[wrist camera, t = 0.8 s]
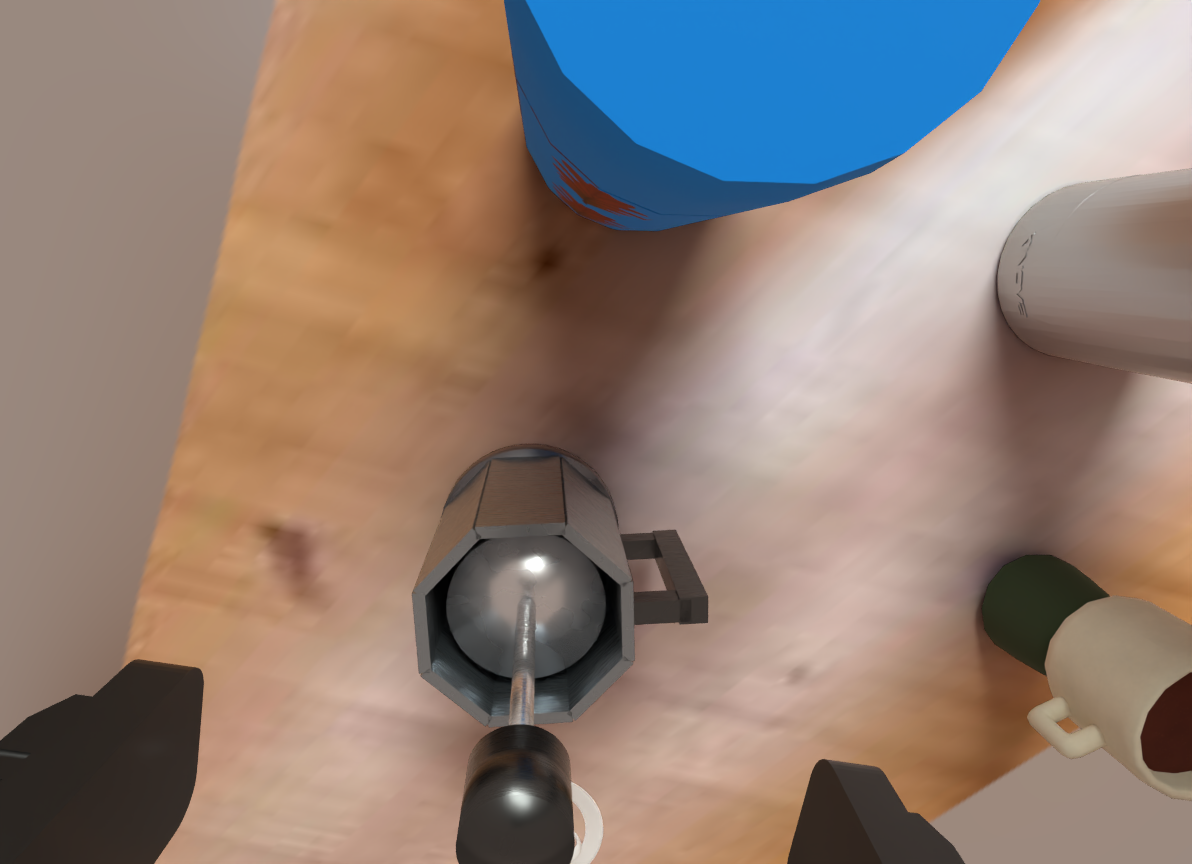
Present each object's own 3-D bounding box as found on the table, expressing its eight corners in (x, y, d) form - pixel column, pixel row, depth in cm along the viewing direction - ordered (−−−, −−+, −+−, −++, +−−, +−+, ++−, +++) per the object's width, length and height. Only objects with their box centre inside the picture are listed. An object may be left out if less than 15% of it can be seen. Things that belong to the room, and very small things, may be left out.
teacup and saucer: (466, 889, 48) (459, 946, 44) (453, 778, 46) (444, 827, 42) (606, 874, 48) (612, 929, 44) (598, 763, 46) (603, 810, 42)
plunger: (602, 521, 33) (647, 719, 19) (606, 664, 34) (650, 946, 20) (443, 529, 33) (366, 737, 18) (453, 673, 34) (391, 967, 20)
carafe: (666, 437, 42) (712, 505, 30) (667, 600, 44) (710, 721, 32) (436, 447, 41) (395, 521, 30) (448, 612, 43) (415, 740, 32)
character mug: (960, 686, 46) (1117, 847, 34) (920, 590, 45) (1069, 721, 32) (1126, 608, 46) (1347, 741, 33) (1091, 508, 44) (1310, 608, 32)
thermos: (663, 274, 40) (854, 301, 15) (482, 159, 38) (375, -15, 14) (780, 83, 38) (1202, -225, 14) (596, -47, 36) (707, -670, 12)
